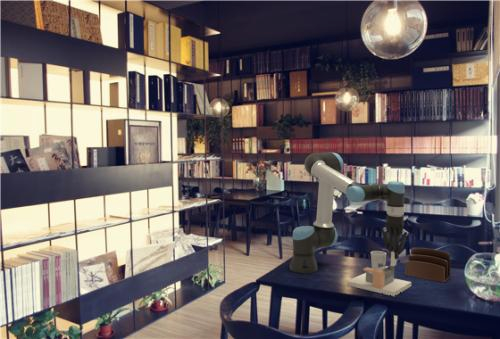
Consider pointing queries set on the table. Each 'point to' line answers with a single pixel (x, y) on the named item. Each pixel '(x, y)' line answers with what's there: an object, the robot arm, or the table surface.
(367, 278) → the board
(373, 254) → the cup
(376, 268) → the translucent flat bar
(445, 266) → the letter holder
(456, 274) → the table surface
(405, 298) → the table surface
